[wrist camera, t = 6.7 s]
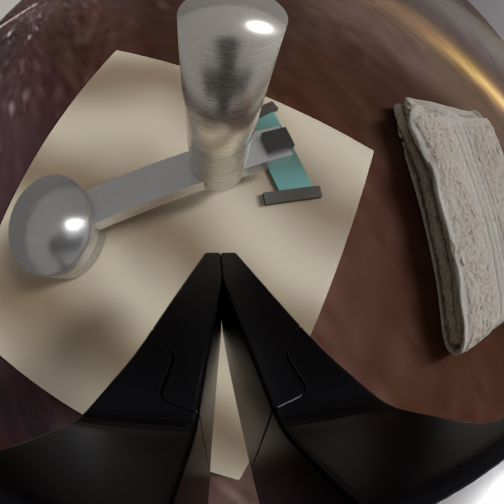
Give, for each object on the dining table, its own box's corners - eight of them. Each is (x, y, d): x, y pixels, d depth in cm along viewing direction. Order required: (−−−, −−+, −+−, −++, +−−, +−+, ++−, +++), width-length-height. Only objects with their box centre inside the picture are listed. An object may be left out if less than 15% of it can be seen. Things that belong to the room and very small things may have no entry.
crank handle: (43, 291, 12) (-110, 270, 3) (27, 211, 13) (-96, 133, 3) (297, 195, 15) (404, 66, 5) (263, 122, 15) (316, -29, 6)
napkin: (237, 470, 13) (239, 482, 12) (-22, 325, 12) (-35, 325, 11) (366, 157, 17) (376, 149, 16) (119, 59, 16) (115, 47, 15)
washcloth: (470, 121, 21) (489, 106, 18) (519, 307, 19) (543, 305, 16) (377, 108, 19) (398, 85, 16) (438, 356, 17) (469, 361, 14)
